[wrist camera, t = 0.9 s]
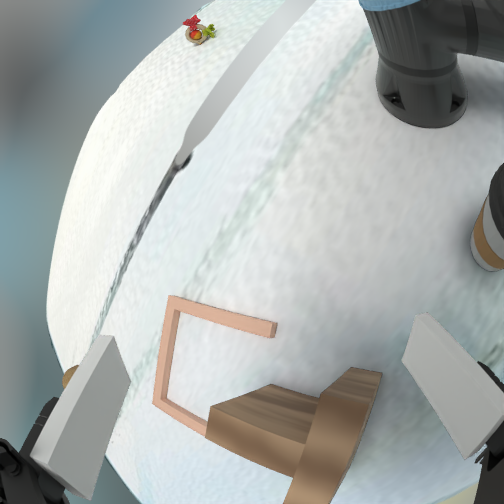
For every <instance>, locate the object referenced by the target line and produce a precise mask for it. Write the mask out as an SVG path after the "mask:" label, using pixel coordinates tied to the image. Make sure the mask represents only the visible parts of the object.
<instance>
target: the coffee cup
mask: <svg viewBox="0 0 504 504" xmlns="http://www.w3.org/2000/svg"><path fill="white" fill-rule="evenodd" d="M470 245H471V251H472V254H473V257H474V258H475V260H476V262H477V263H478V264H479V265H480V266H481V267H482V268H484V269H486V270H489V271H498V270H501V269H504V163H503V164H502V165H501V166H500V167H499V169H498V170H497V171H496V172H495V174H494V176H493V178H492V180H491V184H490V189H489V194H488V196H487V197H486V199H485V202H484V204H483V207H482V209H481V211H480V214H479V216H478V218H477V221H476V223H475V226H474V229H473V231H472V234H471V240H470Z"/></svg>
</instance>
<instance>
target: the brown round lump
mask: <svg viewBox="0 0 504 504" xmlns="http://www.w3.org/2000/svg"><path fill="white" fill-rule="evenodd" d="M78 366H79V365H76V366H74V367H72V368H70V369H68V370H67V371H66V372H65V374H64V376H63V381H62V384H63V387H64V389H65V388H66V386H67V385H68V383H69V381H70V380H71V378H72V376H73V375H74V373H75V371H76V370H77V368H78Z"/></svg>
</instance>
